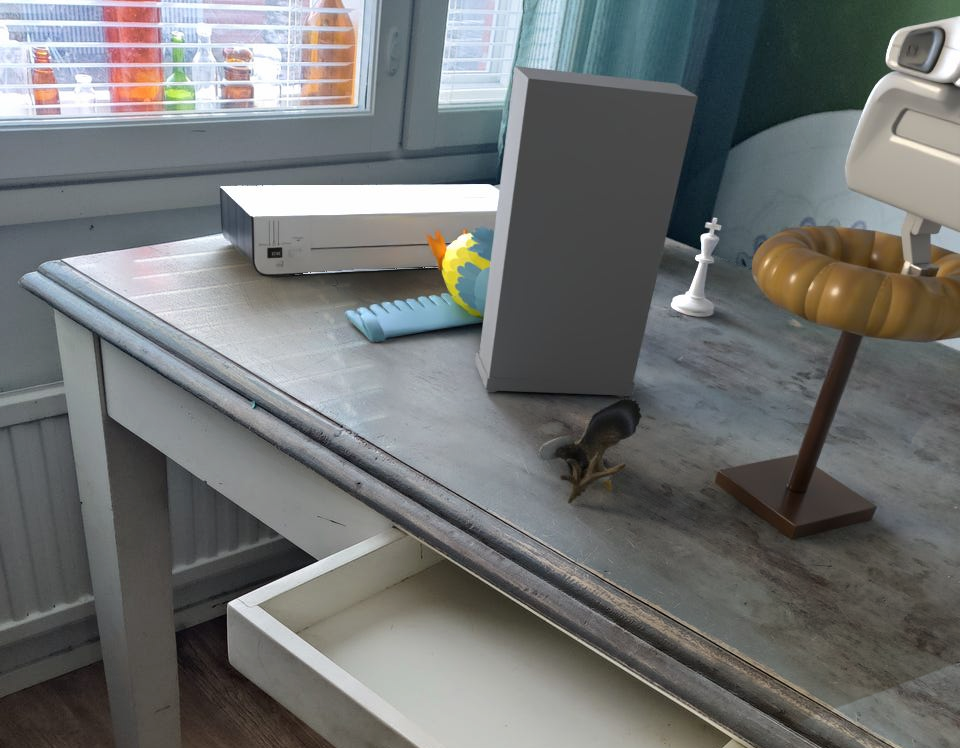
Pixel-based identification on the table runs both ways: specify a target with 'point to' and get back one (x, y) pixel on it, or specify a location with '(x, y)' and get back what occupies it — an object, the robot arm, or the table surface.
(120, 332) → the table surface
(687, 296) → the chess piece
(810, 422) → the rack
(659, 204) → the gray rectangular block
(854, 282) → the bread ring
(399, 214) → the laminator
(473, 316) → the blue yellow toy
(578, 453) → the eagle figurine
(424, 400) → the table surface
